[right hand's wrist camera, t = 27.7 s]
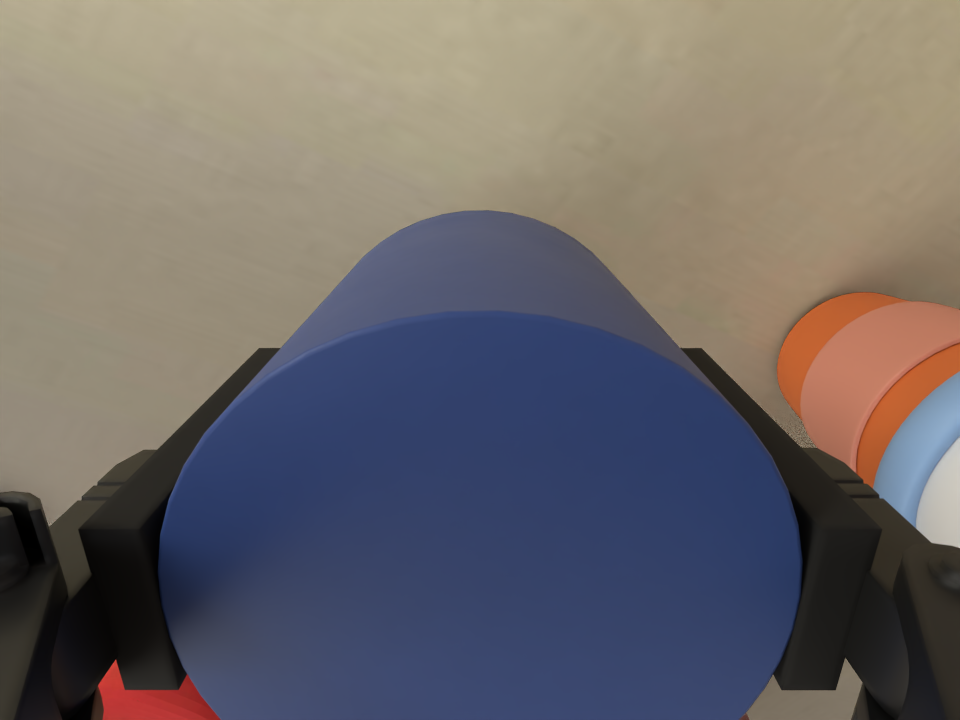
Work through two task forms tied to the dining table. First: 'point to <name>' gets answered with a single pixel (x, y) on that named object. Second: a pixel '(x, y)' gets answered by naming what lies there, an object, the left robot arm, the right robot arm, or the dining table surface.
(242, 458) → the canister
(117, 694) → the apple
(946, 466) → the cup with straw
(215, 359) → the dining table surface
